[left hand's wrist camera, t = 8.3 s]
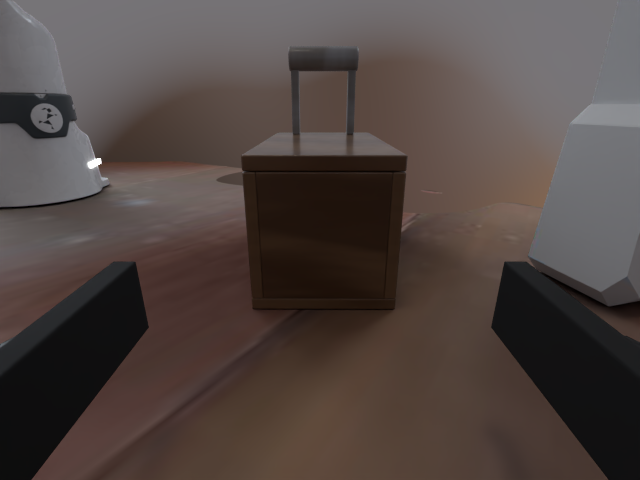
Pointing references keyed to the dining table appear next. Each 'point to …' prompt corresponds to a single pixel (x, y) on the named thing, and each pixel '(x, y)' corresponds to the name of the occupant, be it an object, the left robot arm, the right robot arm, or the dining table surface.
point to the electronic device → (599, 181)
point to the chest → (323, 238)
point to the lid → (323, 147)
